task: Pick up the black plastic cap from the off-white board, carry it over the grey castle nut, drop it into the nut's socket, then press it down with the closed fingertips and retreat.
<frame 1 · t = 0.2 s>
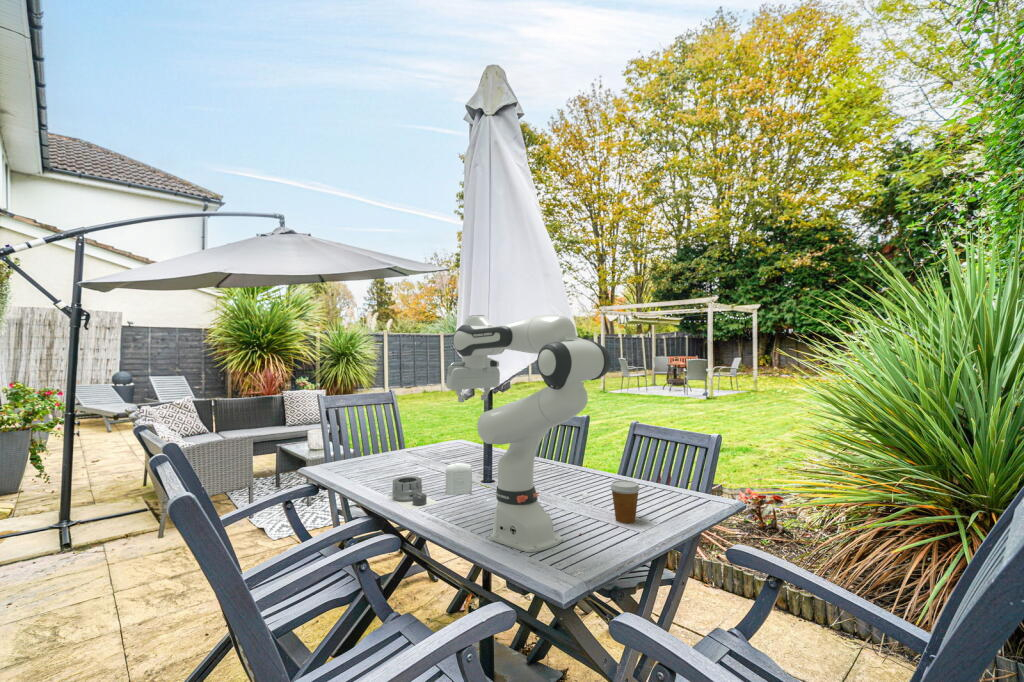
hand: (472, 401, 169), 39 cm above the table, tool pointing down, fingers open, 8 cm apart
photo printer: (458, 495, 190), on the table
board: (412, 502, 181), on the table
disposable coffee cup: (625, 520, 160), on the table
grey castle nut: (407, 497, 184), resting on board
cap: (419, 503, 176), point 1 cm above the table, touching board
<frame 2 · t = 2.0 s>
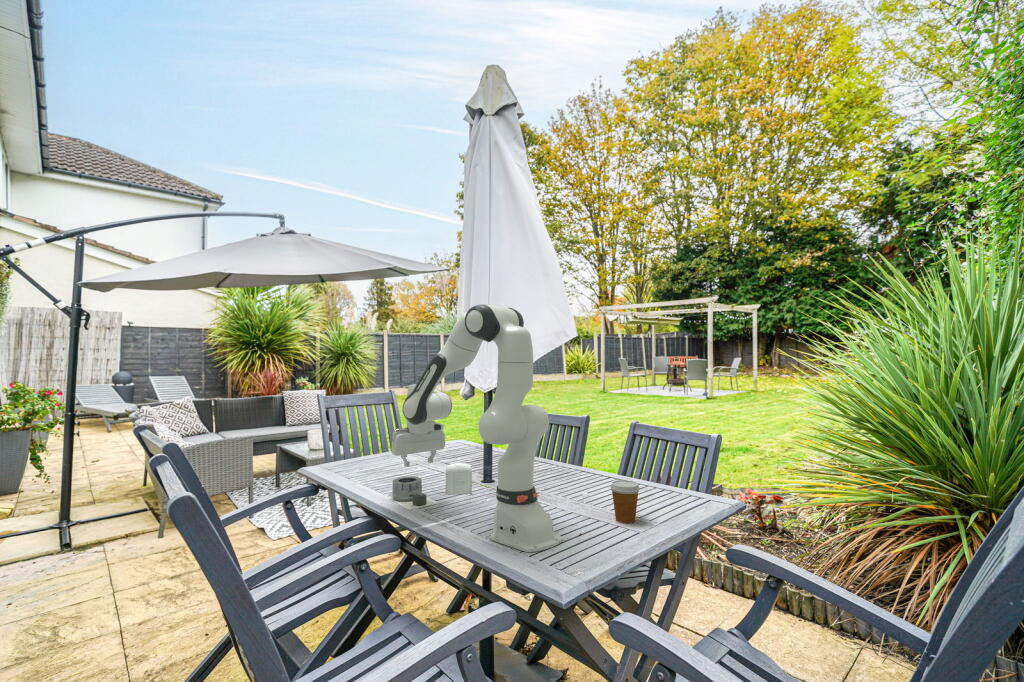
hand: (418, 464, 176), 15 cm above the table, tool pointing down, fingers open, 8 cm apart
nothing on the table moved.
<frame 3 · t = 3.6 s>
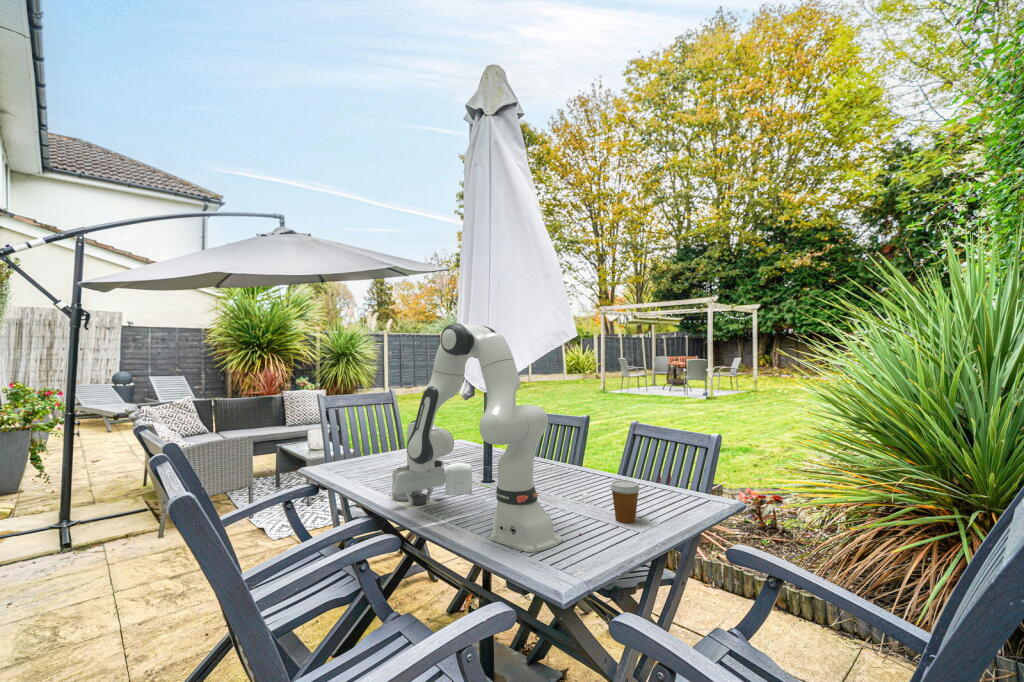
hand: (419, 501, 176), 2 cm above the table, tool pointing down, fingers closed on cap, 5 cm apart
cap: (419, 503, 176), point 1 cm above the table, touching board, gripper
everything else where it was.
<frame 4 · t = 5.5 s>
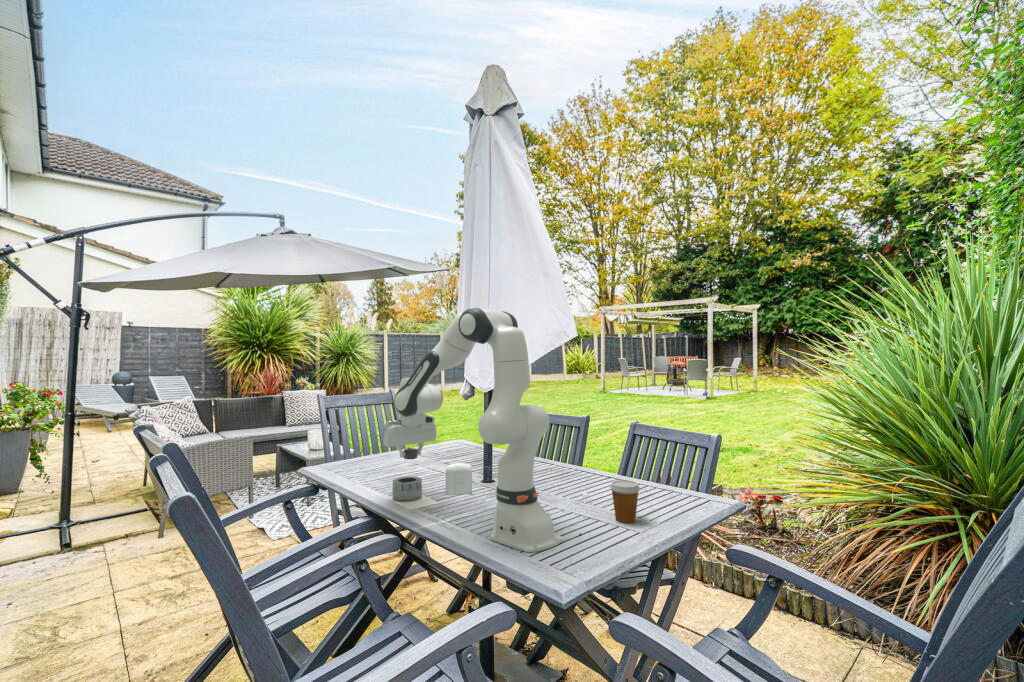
hand: (410, 455, 181), 17 cm above the table, tool pointing down, fingers closed on cap, 5 cm apart
cap: (410, 457, 181), point 17 cm above the table, touching gripper
everything else where it was.
when the fingers open (9 cm above the table, at t = 7.6 s): cap drops 3 cm, resting on grey castle nut.
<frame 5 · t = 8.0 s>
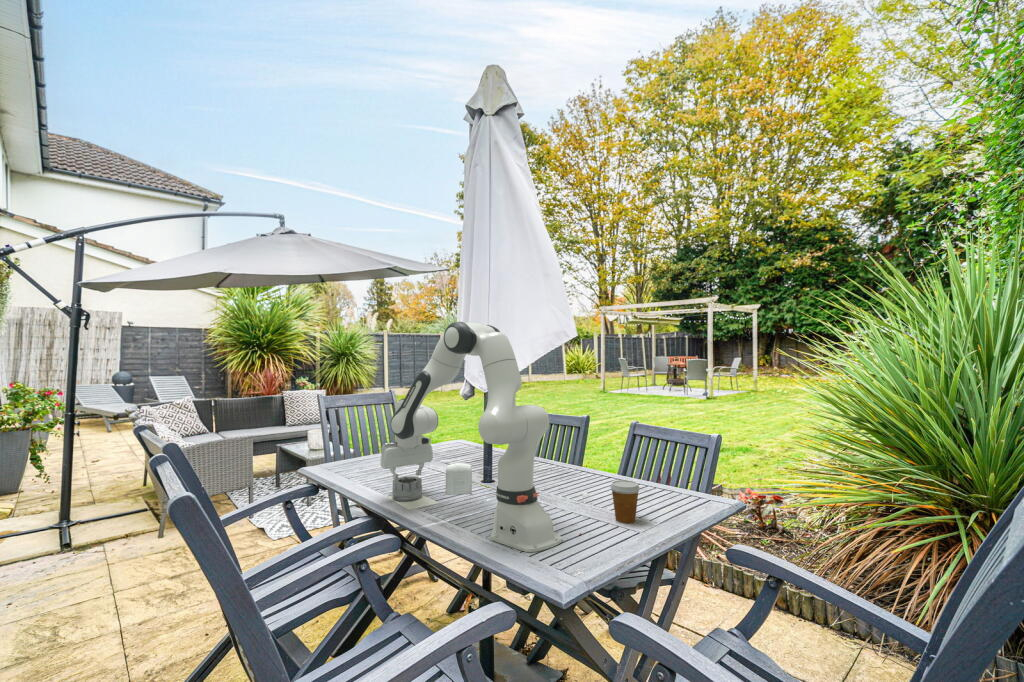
hand: (407, 477, 184), 9 cm above the table, tool pointing down, fingers open, 8 cm apart
cap: (407, 486, 184), point 5 cm above the table, touching grey castle nut
everything else where it was.
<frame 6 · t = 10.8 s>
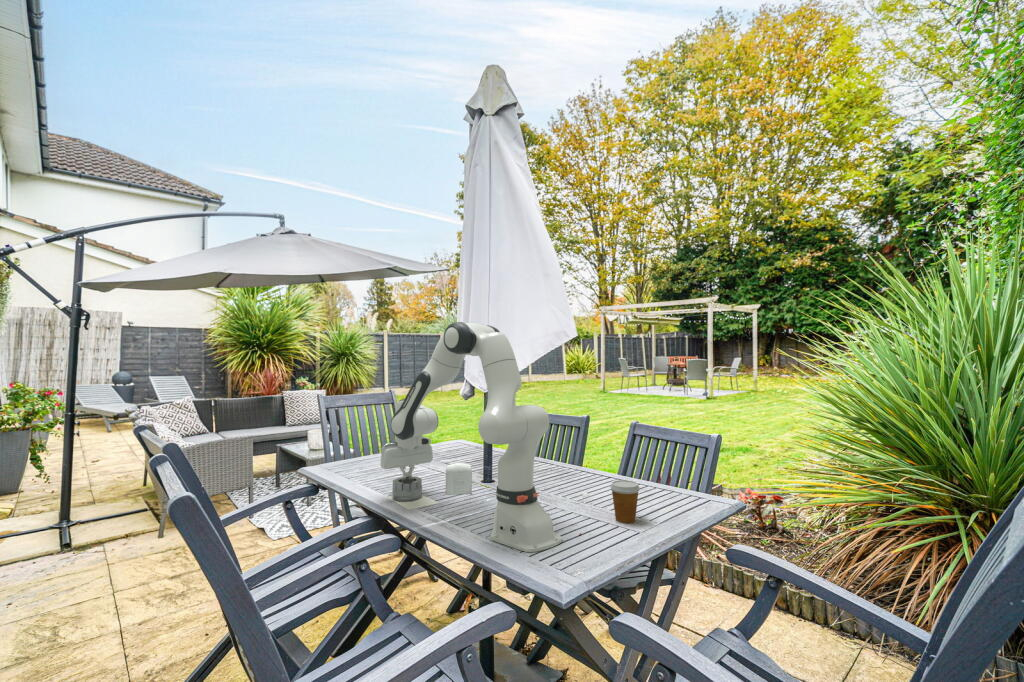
hand: (407, 477, 184), 9 cm above the table, tool pointing down, fingers closed, pressing on cap
cap: (407, 486, 184), point 5 cm above the table, touching grey castle nut, gripper
everything else where it was.
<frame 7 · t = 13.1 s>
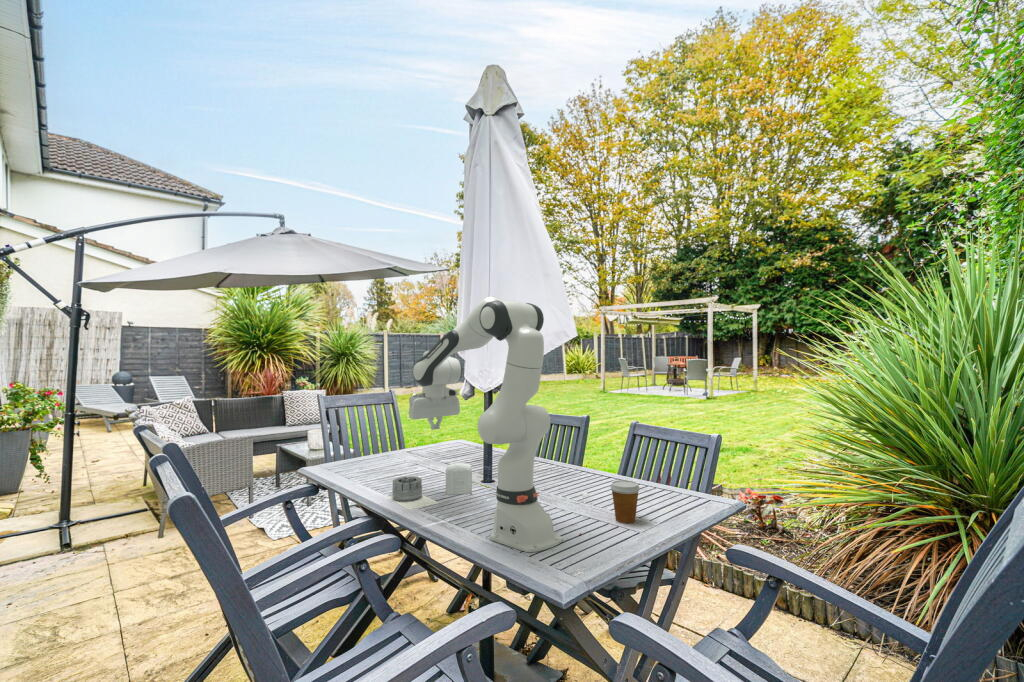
hand: (435, 429, 182), 27 cm above the table, tool pointing down, fingers closed
cap: (407, 486, 184), point 5 cm above the table, touching grey castle nut
everything else where it was.
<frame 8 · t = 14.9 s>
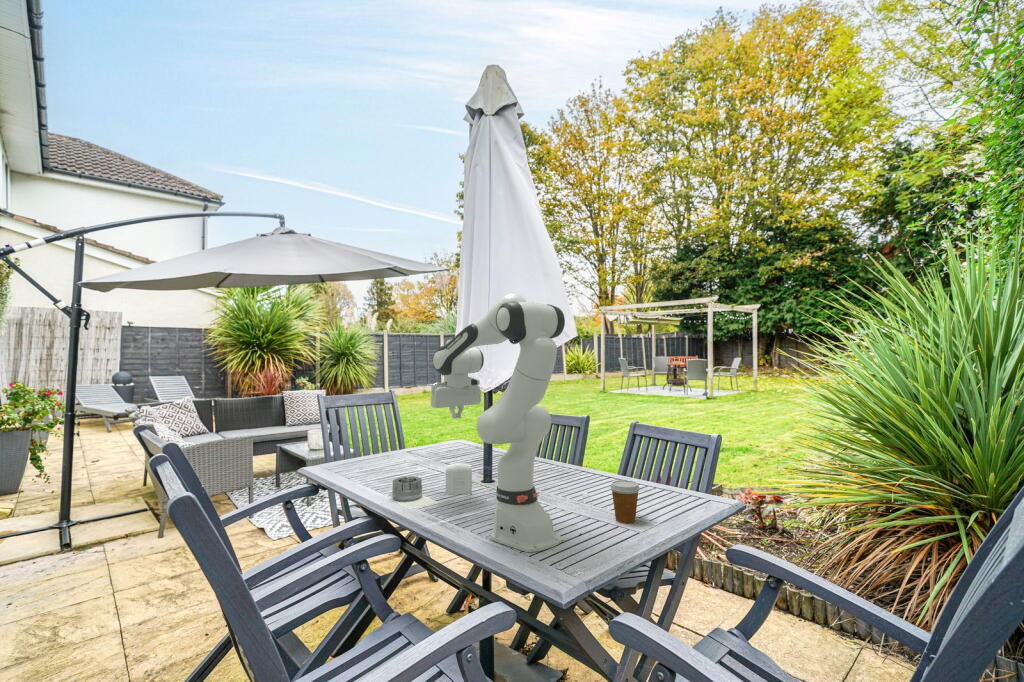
hand: (456, 418, 182), 31 cm above the table, tool pointing down, fingers closed
nothing on the table moved.
at the end: cap 0.1 cm off-centre on the grey castle nut, point 4.0 cm above the grey castle nut's base; cap tilted 0°; the gripper is holding nothing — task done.
